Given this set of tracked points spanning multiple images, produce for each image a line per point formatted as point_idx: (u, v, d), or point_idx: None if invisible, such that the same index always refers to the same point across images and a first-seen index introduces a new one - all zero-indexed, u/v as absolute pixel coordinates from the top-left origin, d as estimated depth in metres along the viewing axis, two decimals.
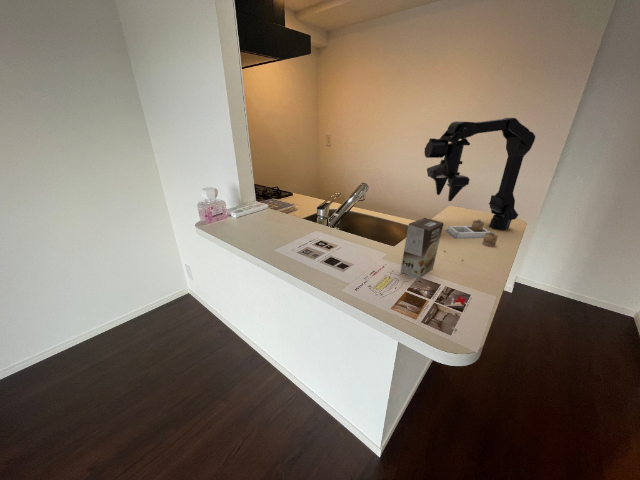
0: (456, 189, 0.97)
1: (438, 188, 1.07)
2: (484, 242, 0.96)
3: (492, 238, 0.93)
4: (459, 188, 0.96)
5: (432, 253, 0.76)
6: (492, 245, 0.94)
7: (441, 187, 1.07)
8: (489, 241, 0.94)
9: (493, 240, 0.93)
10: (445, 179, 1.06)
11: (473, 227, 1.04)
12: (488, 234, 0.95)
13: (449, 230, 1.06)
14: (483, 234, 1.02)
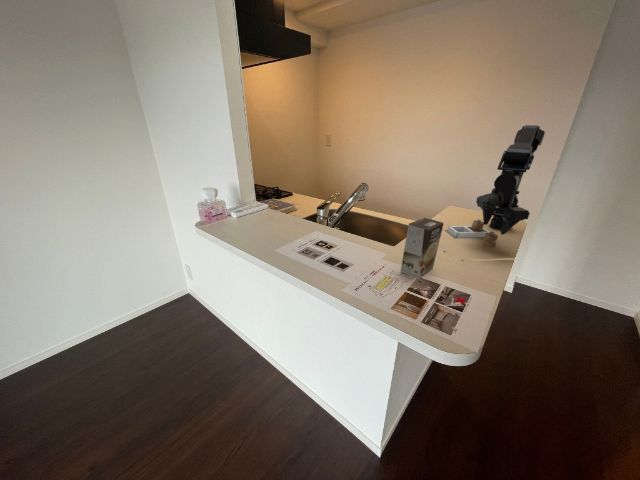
0: (512, 222, 0.86)
1: (486, 217, 0.97)
2: (484, 242, 0.96)
3: (492, 238, 0.93)
4: (515, 221, 0.86)
5: (432, 253, 0.76)
6: (492, 245, 0.94)
7: (489, 216, 0.97)
8: (489, 241, 0.94)
9: (493, 240, 0.93)
10: (494, 208, 0.96)
11: (473, 227, 1.04)
12: (488, 234, 0.95)
13: (449, 230, 1.06)
14: (483, 234, 1.02)
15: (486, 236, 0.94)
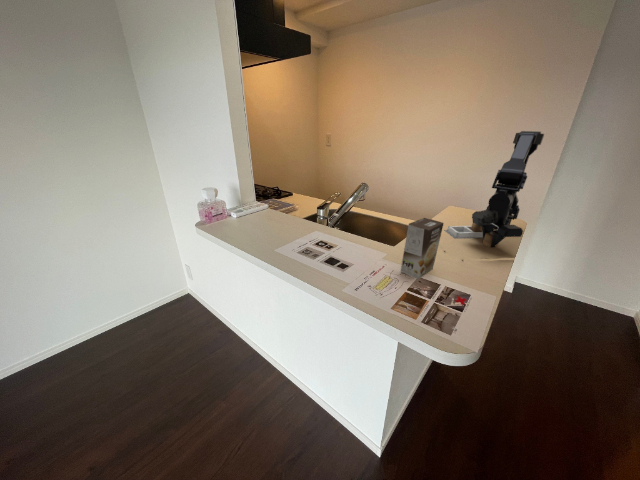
0: (501, 236, 0.91)
1: None
2: (484, 242, 0.96)
3: (492, 238, 0.93)
4: None
5: (432, 253, 0.76)
6: None
7: None
8: (489, 241, 0.94)
9: None
10: (494, 226, 0.96)
11: (473, 227, 1.04)
12: (488, 234, 0.95)
13: (449, 230, 1.06)
14: None
15: (486, 236, 0.94)
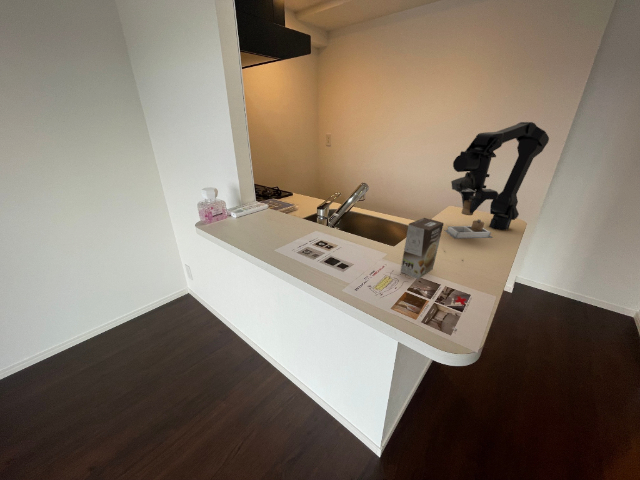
0: (479, 201, 0.95)
1: None
2: (463, 209, 0.99)
3: (470, 204, 0.97)
4: (482, 200, 0.94)
5: (432, 253, 0.76)
6: None
7: None
8: (468, 207, 0.98)
9: None
10: (472, 193, 1.00)
11: (473, 227, 1.04)
12: (467, 201, 0.99)
13: (449, 230, 1.06)
14: (483, 234, 1.02)
15: (465, 203, 0.98)
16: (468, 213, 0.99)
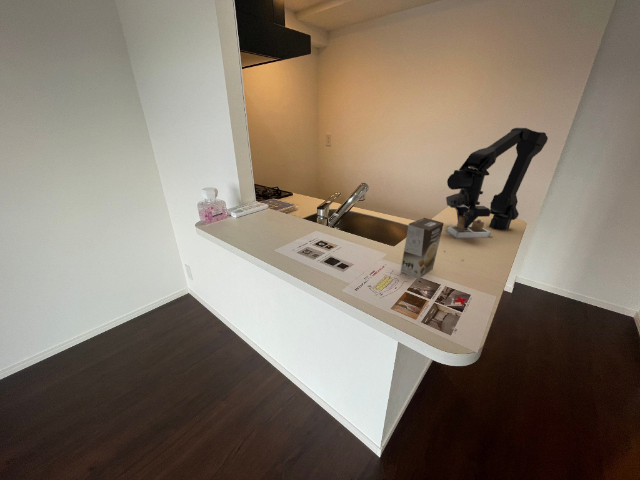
0: (472, 217, 0.98)
1: None
2: (458, 223, 1.03)
3: None
4: (475, 216, 0.98)
5: (432, 253, 0.76)
6: None
7: None
8: (462, 222, 1.01)
9: None
10: (467, 208, 1.03)
11: (473, 227, 1.04)
12: (461, 216, 1.02)
13: (449, 230, 1.06)
14: (483, 234, 1.02)
15: (459, 218, 1.02)
16: (462, 228, 1.02)
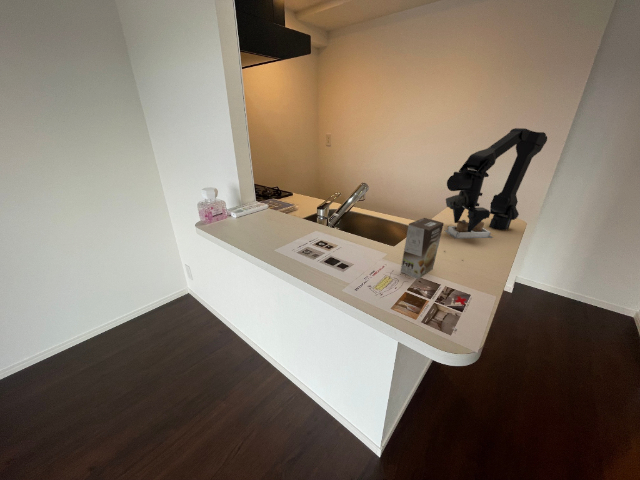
0: (476, 221, 0.96)
1: (456, 217, 1.07)
2: (456, 229, 1.04)
3: (463, 225, 1.01)
4: (479, 220, 0.96)
5: (432, 253, 0.76)
6: None
7: (459, 216, 1.07)
8: (461, 228, 1.02)
9: (464, 227, 1.01)
10: (463, 208, 1.06)
11: None
12: (460, 222, 1.03)
13: (449, 230, 1.06)
14: (483, 234, 1.02)
15: (458, 224, 1.03)
16: None
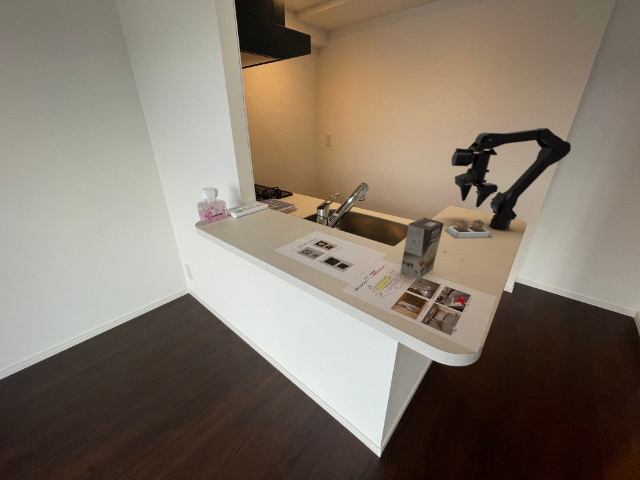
0: (484, 196, 1.02)
1: (463, 195, 1.13)
2: (456, 229, 1.04)
3: (463, 225, 1.01)
4: (487, 195, 1.02)
5: (432, 253, 0.76)
6: None
7: (466, 193, 1.13)
8: (461, 228, 1.02)
9: (464, 227, 1.01)
10: (470, 186, 1.12)
11: (473, 227, 1.04)
12: (460, 222, 1.03)
13: (449, 230, 1.06)
14: (483, 234, 1.02)
15: (458, 224, 1.03)
16: None
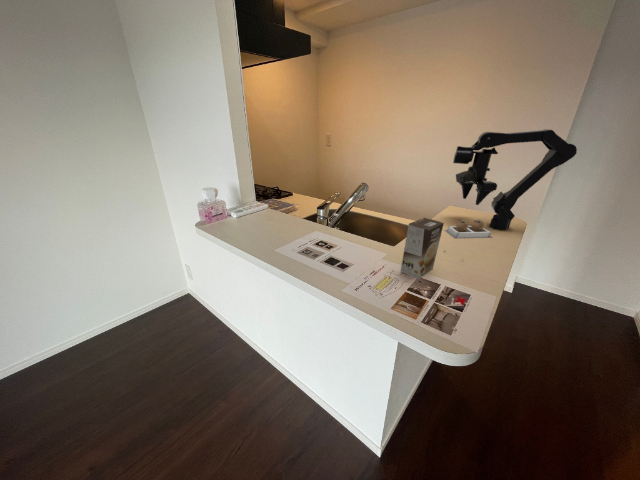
0: (484, 194, 1.05)
1: (464, 192, 1.15)
2: (456, 229, 1.04)
3: (462, 225, 1.01)
4: (487, 193, 1.04)
5: (432, 253, 0.76)
6: None
7: (467, 191, 1.15)
8: (460, 228, 1.02)
9: (463, 227, 1.02)
10: (471, 184, 1.14)
11: (473, 227, 1.04)
12: (459, 222, 1.03)
13: (449, 230, 1.06)
14: (483, 234, 1.02)
15: (457, 223, 1.03)
16: None
